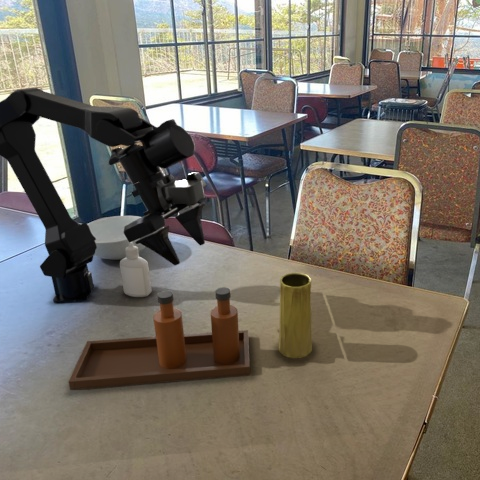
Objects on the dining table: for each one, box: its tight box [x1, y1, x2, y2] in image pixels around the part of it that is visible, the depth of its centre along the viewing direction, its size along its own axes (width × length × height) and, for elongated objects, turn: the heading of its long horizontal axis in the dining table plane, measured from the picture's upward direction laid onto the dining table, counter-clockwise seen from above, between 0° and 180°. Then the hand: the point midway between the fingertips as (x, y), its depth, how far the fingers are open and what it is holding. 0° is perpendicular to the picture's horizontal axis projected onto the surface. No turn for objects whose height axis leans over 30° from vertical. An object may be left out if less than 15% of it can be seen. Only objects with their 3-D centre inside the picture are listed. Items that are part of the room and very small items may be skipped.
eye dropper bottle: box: [119, 242, 153, 298], centre depth 100 cm, size 4×6×12 cm
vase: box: [278, 272, 313, 359], centre depth 83 cm, size 6×6×14 cm
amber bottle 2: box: [210, 286, 240, 364], centre depth 80 cm, size 4×4×13 cm
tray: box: [68, 329, 251, 391], centre depth 81 cm, size 28×11×2 cm, turn 99°
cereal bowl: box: [86, 215, 146, 261], centre depth 119 cm, size 17×17×7 cm
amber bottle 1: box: [152, 290, 186, 369], centre depth 79 cm, size 4×4×13 cm
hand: (190, 254), depth 89 cm, fingers open, 9 cm apart
